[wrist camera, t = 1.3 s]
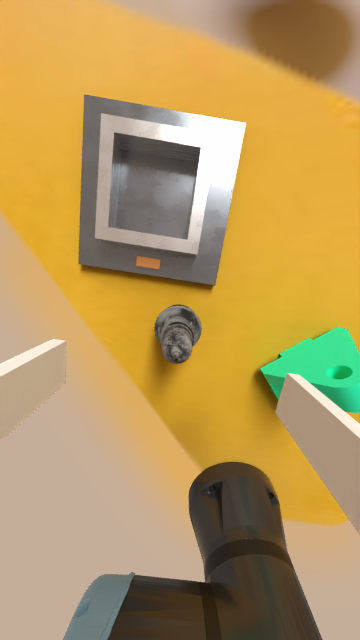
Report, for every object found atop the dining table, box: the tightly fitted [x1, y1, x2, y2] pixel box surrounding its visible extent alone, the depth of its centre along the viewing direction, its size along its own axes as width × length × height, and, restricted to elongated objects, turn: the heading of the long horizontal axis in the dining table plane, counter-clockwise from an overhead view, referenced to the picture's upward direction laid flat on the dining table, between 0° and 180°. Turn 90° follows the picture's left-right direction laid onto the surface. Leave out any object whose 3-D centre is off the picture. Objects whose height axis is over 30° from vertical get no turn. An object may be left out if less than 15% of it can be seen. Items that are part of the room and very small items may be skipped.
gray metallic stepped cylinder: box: [155, 305, 202, 364], centre depth 21 cm, size 6×6×12 cm
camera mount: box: [260, 327, 360, 413], centre depth 23 cm, size 12×8×10 cm, turn 122°
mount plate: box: [78, 95, 246, 285], centre depth 21 cm, size 18×18×4 cm
